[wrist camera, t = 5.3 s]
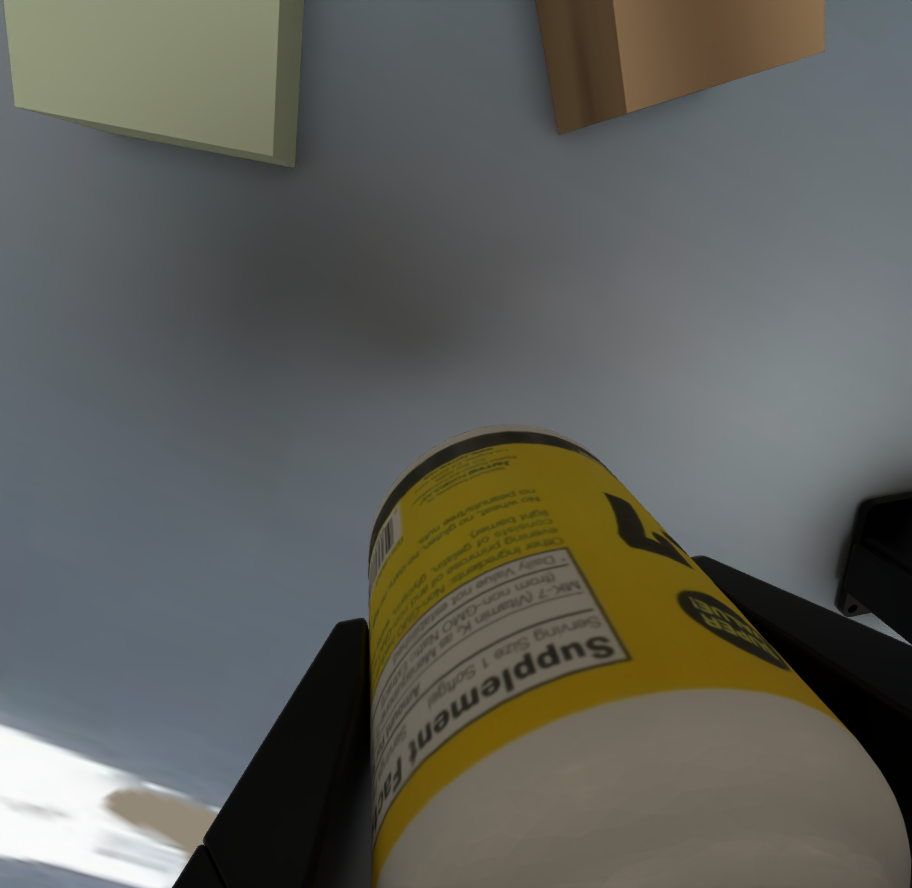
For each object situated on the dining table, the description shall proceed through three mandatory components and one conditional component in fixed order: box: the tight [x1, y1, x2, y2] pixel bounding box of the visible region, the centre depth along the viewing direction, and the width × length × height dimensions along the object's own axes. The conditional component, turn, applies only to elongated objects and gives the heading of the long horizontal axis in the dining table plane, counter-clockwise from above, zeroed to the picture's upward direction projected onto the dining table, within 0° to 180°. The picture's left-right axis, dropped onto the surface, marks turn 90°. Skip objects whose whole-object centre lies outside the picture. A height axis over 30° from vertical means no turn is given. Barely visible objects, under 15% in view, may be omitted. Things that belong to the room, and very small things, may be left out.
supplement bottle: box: [368, 425, 911, 888], centre depth 7 cm, size 5×5×8 cm
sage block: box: [4, 0, 304, 168], centre depth 13 cm, size 5×5×5 cm
